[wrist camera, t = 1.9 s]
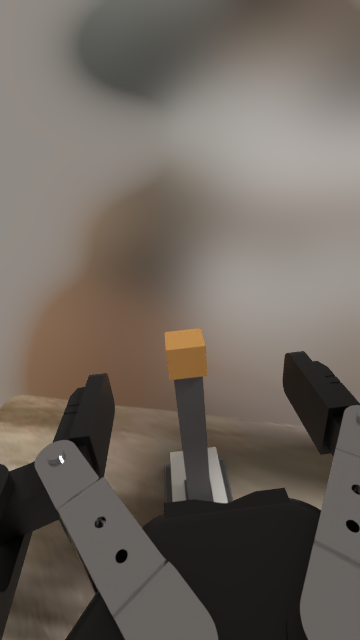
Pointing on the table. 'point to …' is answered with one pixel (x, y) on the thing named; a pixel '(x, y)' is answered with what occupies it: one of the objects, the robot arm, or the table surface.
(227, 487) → the breaker base
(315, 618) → the robot arm
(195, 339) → the lever
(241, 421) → the table surface
